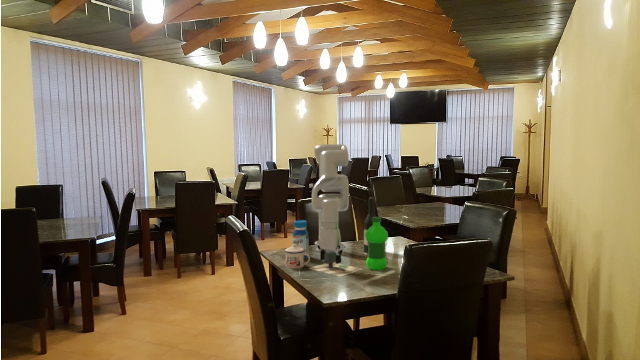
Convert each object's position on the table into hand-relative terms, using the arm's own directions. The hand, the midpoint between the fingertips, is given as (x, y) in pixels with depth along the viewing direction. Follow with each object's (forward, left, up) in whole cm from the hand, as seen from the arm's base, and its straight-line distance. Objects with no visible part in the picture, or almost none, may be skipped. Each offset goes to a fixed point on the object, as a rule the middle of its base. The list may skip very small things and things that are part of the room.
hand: (330, 261), depth 216 cm
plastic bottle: (+16, +14, -4) cm, 22 cm away
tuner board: (+3, 0, -4) cm, 5 cm away
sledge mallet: (+4, 0, -3) cm, 5 cm away
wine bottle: (-8, +43, -4) cm, 44 cm away
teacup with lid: (-14, -8, -4) cm, 17 cm away
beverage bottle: (-25, +5, -4) cm, 26 cm away
